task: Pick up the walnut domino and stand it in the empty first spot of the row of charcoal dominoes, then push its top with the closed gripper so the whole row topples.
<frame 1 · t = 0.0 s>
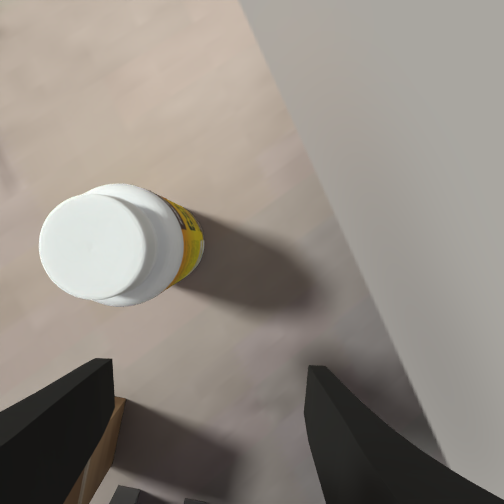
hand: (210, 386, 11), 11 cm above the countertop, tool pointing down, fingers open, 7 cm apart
supplement bottle: (167, 242, 21), on the countertop
walnut domino: (108, 429, 22), on the countertop
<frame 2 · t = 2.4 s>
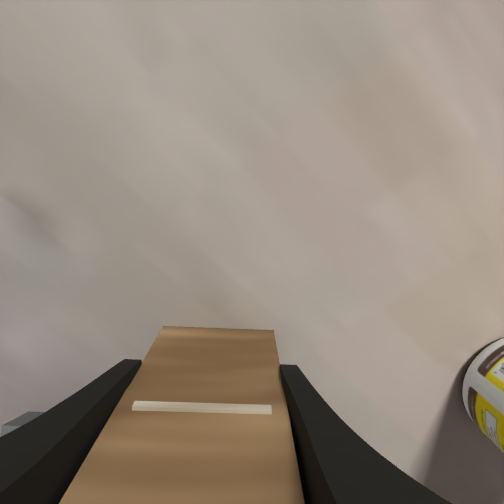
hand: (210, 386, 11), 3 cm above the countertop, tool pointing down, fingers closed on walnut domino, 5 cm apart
walnut domino: (218, 344, 14), on the countertop, touching gripper
domino 1: (71, 420, 14), point 1 cm above the countertop, tilted 68°, touching domino 2
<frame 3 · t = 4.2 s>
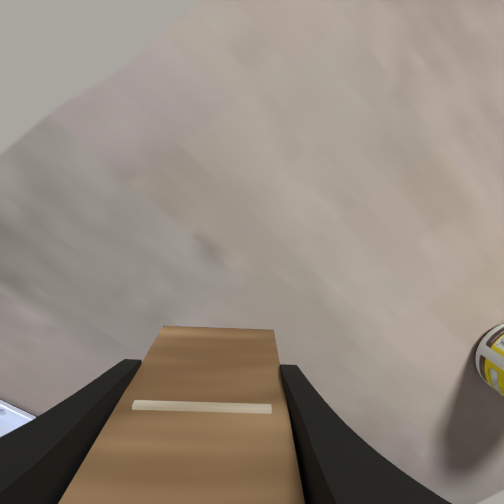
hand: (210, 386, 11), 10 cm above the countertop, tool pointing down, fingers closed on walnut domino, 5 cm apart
walnut domino: (218, 343, 14), point 7 cm above the countertop, touching gripper
when the fingers open (4 cm above the countertop, at t = 6.2 s): walnut domino stays where it is, on the countertop.
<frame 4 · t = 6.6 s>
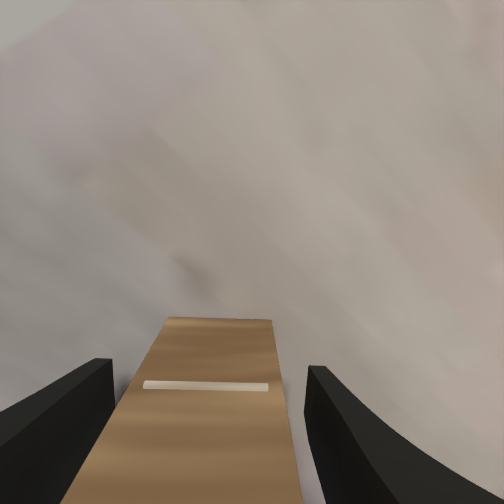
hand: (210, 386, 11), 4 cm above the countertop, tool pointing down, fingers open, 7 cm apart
walnut domino: (219, 333, 15), on the countertop
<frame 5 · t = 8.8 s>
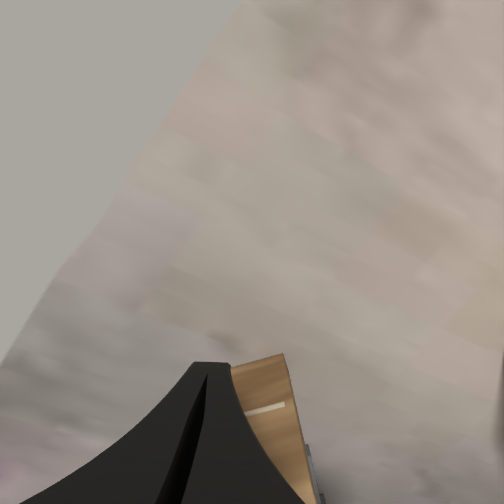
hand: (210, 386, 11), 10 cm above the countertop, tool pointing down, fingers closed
walnut domino: (253, 371, 22), on the countertop
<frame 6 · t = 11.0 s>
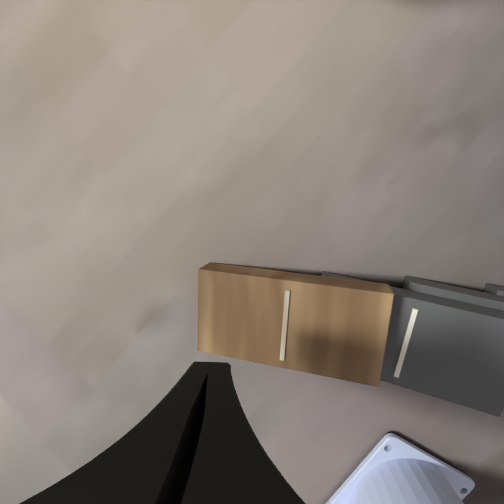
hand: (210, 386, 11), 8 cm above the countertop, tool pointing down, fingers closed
domino 2: (397, 317, 18), point 1 cm above the countertop, tilted 70°, touching domino 1, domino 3
walnut domino: (204, 306, 18), point 1 cm above the countertop, tilted 74°, touching domino 1
domino 1: (313, 313, 18), point 1 cm above the countertop, tilted 70°, touching domino 2, walnut domino
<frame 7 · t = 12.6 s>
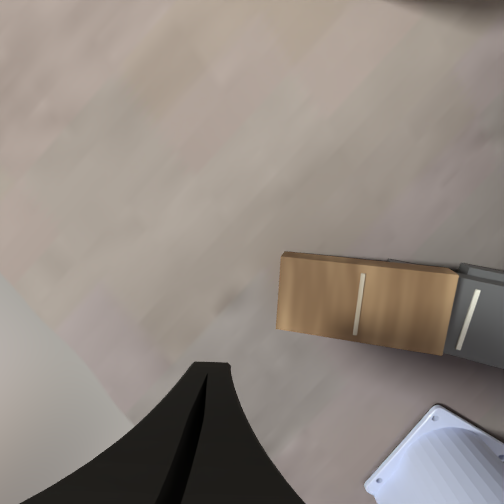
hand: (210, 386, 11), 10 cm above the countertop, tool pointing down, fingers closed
domino 2: (453, 299, 21), point 1 cm above the countertop, tilted 70°, touching domino 1, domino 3
walnut domino: (280, 289, 20), point 1 cm above the countertop, tilted 74°, touching domino 1
domino 1: (380, 295, 20), point 1 cm above the countertop, tilted 70°, touching domino 2, walnut domino
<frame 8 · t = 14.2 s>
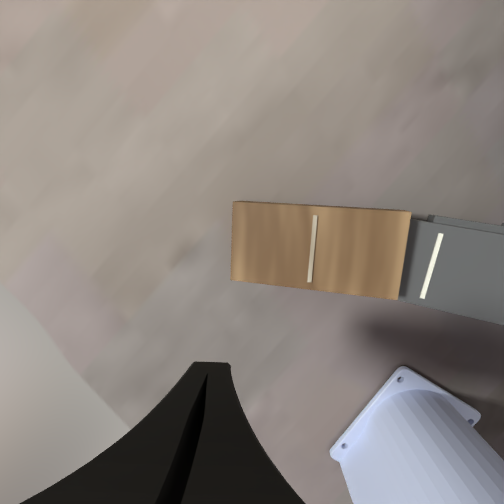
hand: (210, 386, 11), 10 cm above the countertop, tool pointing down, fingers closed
domino 2: (421, 252, 20), point 1 cm above the countertop, tilted 71°, touching domino 1, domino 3
walnut domino: (235, 239, 19), point 1 cm above the countertop, tilted 75°, touching domino 1
domino 1: (344, 247, 20), point 1 cm above the countertop, tilted 71°, touching domino 2, walnut domino
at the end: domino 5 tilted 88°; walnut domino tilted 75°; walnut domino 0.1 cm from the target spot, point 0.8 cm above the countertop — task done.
